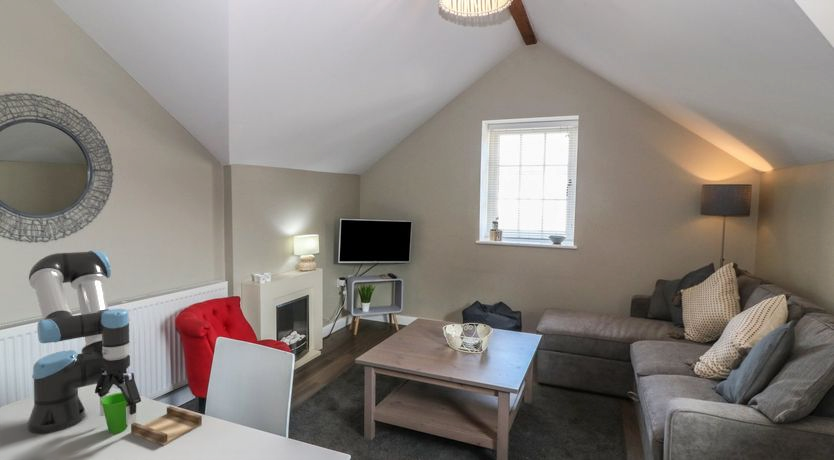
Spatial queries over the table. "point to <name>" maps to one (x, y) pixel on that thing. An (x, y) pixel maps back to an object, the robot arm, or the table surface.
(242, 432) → the table surface
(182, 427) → the wooden tray
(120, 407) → the cup
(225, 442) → the table surface
